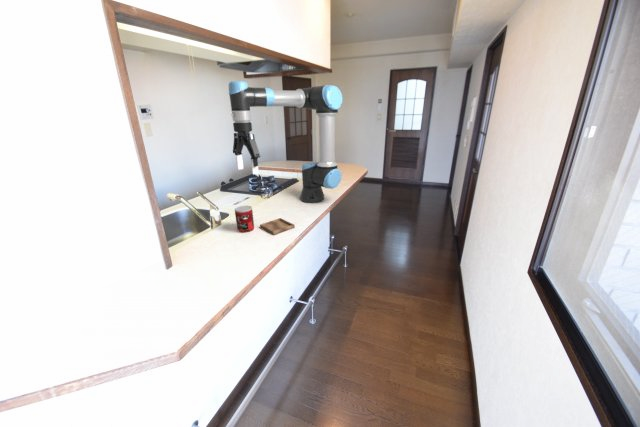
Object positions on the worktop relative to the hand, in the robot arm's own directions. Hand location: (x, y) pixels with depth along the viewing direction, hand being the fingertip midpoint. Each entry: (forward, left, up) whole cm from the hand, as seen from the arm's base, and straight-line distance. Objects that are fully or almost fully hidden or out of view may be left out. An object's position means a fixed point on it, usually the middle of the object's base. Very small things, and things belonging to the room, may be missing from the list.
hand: (247, 171), depth 123 cm
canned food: (+4, -1, -28) cm, 28 cm away
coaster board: (-8, +8, -28) cm, 30 cm away
